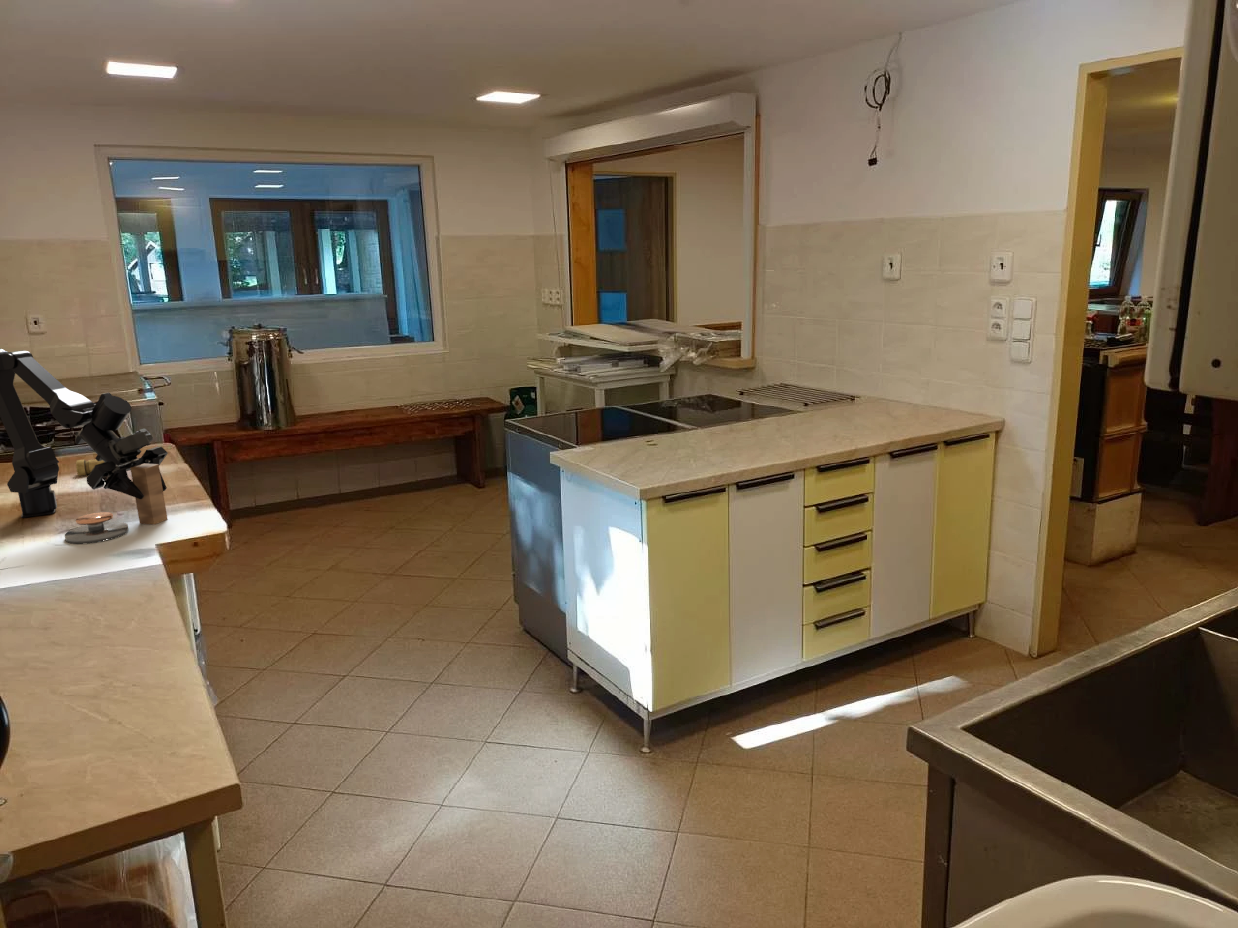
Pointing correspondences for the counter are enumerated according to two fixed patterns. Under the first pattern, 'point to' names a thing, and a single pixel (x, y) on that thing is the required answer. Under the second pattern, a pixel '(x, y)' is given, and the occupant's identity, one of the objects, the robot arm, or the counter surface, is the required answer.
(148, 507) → the walnut stick
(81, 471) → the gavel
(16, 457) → the robot arm
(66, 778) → the counter surface
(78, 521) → the copper topped disc
